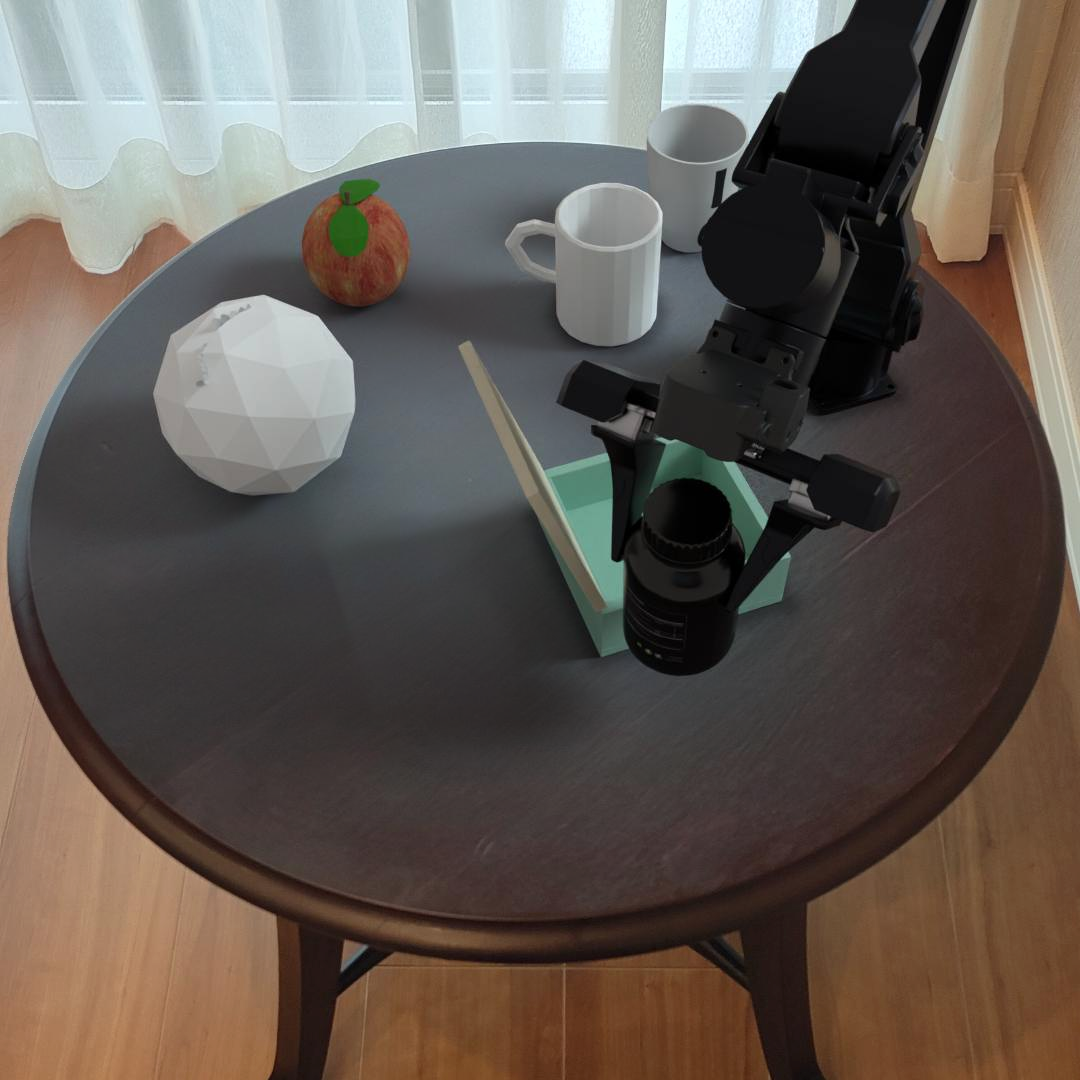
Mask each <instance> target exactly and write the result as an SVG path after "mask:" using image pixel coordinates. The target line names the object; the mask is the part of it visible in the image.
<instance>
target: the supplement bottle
mask: <svg viewBox="0 0 1080 1080" xmlns="http://www.w3.org/2000/svg"><path fill="white" fill-rule="evenodd" d="M745 556H746V554H745V546H744V542H743V539H742V537H741V535H740V533H739V531H738V529H737V528H736V527H735V525H734V524H733V523H732V509H731V508H730V503H729V501H728V500H727V497H726V496H725V495H724V494H723V492H722V491H721V490H719V489H718V488H717V487H716V486H714V485H711V484H710V483H709V482H704V481H703V480H701V479H694V478H681V479H674V480H672V481H667V482H665V483H663V484H660V485H659V486H658V487H657V488H654V490H653V492H652V493H650V494H649V497H648V498H647V499H646V501H645V506H644V508H643V516H642V517H640V518H639V519H638V520H637V521H636V523H635V524H634V525H633V526H632V528H631V529H630V531H629V533H628V535H627V538H626V541H625V545H624V554H623V632H624V637H625V640H626V643H627V645H628V647H629V649H628V650H630V652H631V654H632V655H633V656H634V657H635V658H636V659H637V660H638V661H639V662H640V663H641V664H642V665H644V666H645V667H647V668H649V669H650V670H652V671H655V672H657V673H659V674H664V675H668V676H673V677H688V676H694V675H698V674H701V673H704V672H706V671H708V670H710V669H713V668H714V667H715V666H717V665H718V664H719V663H720V662H722V660H724V659H725V657H726V656H727V654H728V653H729V652H730V651H731V648H732V645H733V643H734V640H735V637H736V631H737V630H736V629H737V624H738V618H739V614H738V611H739V608H738V609H737V610H736V611H735V612H733V613H731V614H730V613H728V612H726V611H725V608H726V605H727V603H728V600H729V597H730V594H731V591H732V589H733V587H734V584H735V583H736V581H737V579H738V577H739V575H740V573H741V571H742V569H743V568H744V566H745Z"/></svg>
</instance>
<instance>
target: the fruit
mask: <svg viewBox="0 0 1080 1080" xmlns="http://www.w3.org/2000/svg"><path fill="white" fill-rule="evenodd" d="M380 187H381V183H380V182H378V181H377V180H374V179H371V178H359V179H352V180H346V181H344V182H343V183H342V184H340V185H339V189H338V192H339V193H336V194H334V195H331V196H329V197H327V198H325V199H324V200H323V201H321V202H320V203H319V204H318V205H317V206H316V207H315V209H314V210H313V211H312V213H311V214H310V215H309V217H308V219H307V220H306V222H305V225H304V227H303V232H302V238H301V254H302V262H303V264H304V267H305V270H306V272H307V275H308V277H309V279H310V280H311V281H312V283H313V284H314V286H315V287H316V288H317V289H318V290H319V291H320V292H321V293H322V294H323V295H325V296H326V297H328V298H330V299H331V300H333V301H334V302H336V303H338V304H342V305H345V306H350V307H368V306H372V305H376V304H377V303H380V302H381V301H383V300H385V299H388V298H389V297H390V296H391V295H392V294H393V293H394V292H395V291H396V290H397V288H398V287H400V285H401V284H402V282H403V281H404V279H405V277H406V274H407V272H408V270H409V264H410V259H411V246H410V238H409V235H408V232H407V229H406V226H405V224H404V222H403V220H402V219H401V217H400V216H399V214H398V213H397V211H396V210H395V209H394V208H393V207H392V206H391V205H390V204H389V203H388V202H387V201H385V200H383V199H382V198H380V197H379V196H377V195H375V194H374V193H376V192H377V191H378V190H379V188H380Z"/></svg>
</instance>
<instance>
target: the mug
mask: <svg viewBox="0 0 1080 1080" xmlns="http://www.w3.org/2000/svg"><path fill="white" fill-rule="evenodd" d="M662 215H663V213H662V211H661V209H660V206H659V204H658V202H656V201H655V200H654V199H653V198H652V197H651V196H650V193H648V192H646V191H644V190H641V189H640V188H637V187H635V186H632V185H628V184H624V183H619V182H599V183H594V184H588V185H585V186H582V187H581V188H578V189H576V190H573V191H572V192H571V193H569V194H568V195H566V196H565V197H564V198H563V199H561V201H560V203H559V204H558V206H557V207H556V209H555V215H554V216H555V217H554V223H552V222H548V221H544V220H539V219H536V218H534V219H530V220H526V221H523V222H519V223H517V224H516V225H515V226H514V228H513V229H512V231H511V232H510V234H509V235H508V237H507V238H506V239H505V241H504V242H505V243H504V246H505V248H506V249H507V251H508V252H509V254H510V255H511V257H512V259H513V260H514V262H515V263H516V266H517V267H518V268H519V269H520V271H521V272H523V273H524V274H527V275H529V276H532V277H533V278H536V279H538V280H540V281H543V282H547V283H553V284H555V302H556V303H555V305H556V307H555V308H556V316H557V319H558V322H559V325H560V326H561V327H562V328H563V330H564V331H565V332H566V333H567V334H568V335H569V336H571V337H572V338H574V339H576V340H578V341H579V342H581V343H584V344H588V345H591V346H595V347H596V346H597V347H616V346H622V345H627V344H630V343H632V342H634V341H636V340H638V339H641V338H642V337H643V336H644V335H645V334H646V333H647V332H649V331H650V330H651V329H652V326H653V325H654V323H655V321H656V319H657V314H658V313H657V312H658V296H659V281H660V267H661V266H660V265H661V264H660V262H661V249H662V239H661V235H662ZM540 234H542V235H546V236H550V237H554V243H555V244H554V245H555V248H554V249H555V270H554V269H550V268H546V267H544V266H541V265H540V264H538V263H535V262H533V261H531V259H530V257H529V256H528V255H527V253H526V252H525V250H524V248H523V247H522V245H521V244H522V243H523V241H524V239H526V237H531V236H535V235H540Z"/></svg>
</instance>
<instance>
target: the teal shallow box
mask: <svg viewBox="0 0 1080 1080" xmlns="http://www.w3.org/2000/svg"><path fill="white" fill-rule="evenodd" d="M655 439H656V440H658V441H661V442H663V443H665V444H666V447H665V450H664V452H663V455H662V458H661V461H660V464H659V467H658V470H657V473H656V476H655V478H654V481H653V484H652V487H651V490H650V493H652V492H653V490H654V488H657V487H658V486H659V485H660V484H663V483H665V482H667V481H672V480H674V479H681V478H694V479H701V480H703V481H704V482H709V483H710V484H711V485H714V486H716V487H717V488H718V489H719V490H721V491H722V492H723V494H724V495H725V496H726V497H727V500H728V501H729V503H730V508H731V509H732V523H733V524H734V525H735V527H736V528H737V529H738V531H739V533H740V535H741V537H742V539H743V542H744V546H745V554H746V556H745V564H746V562H747V560H748V558H749V556H750V554H751V553H752V551H753V549H754V547H755V545H756V543H757V541H758V539H759V538H760V536H761V534H762V532H763V530H764V528H765V526H766V523H767V520H768V518H769V516H768V515H767V514H766V511H765V510H764V508H763V507H762V505H761V503H760V502H759V500H758V498H757V496H756V495H755V493H754V492H753V490H752V488H751V487H750V485H749V483H748V481H747V480H746V478H745V476H744V475H743V472H741V470H740V468H739V466H738V464H737V463H735V462H724V461H719V460H716V459H713V458H711V457H709V456H707V455H706V453H705V452H704V451H703V450H701V449H699V448H696V447H694V446H691V445H689V444H686V443H684V442H681V441H679V440H676V439H675V440H672V441H669V440H667V439H664V438H662V437H660V436H659V437H657V438H655ZM543 471H544V473H545V475H546V477H547V479H548V482H549V484H550V486H551V488H552V490H553V492H554V494H555V496H556V499H557V501H558V503H559V505H560V507H561V509H562V511H563V513H564V516H565V518H566V520H567V522H568V524H569V526H570V528H571V530H572V533H573V535H574V537H575V539H576V541H577V543H578V545H579V547H580V550H581V552H582V554H583V556H584V558H585V560H586V562H587V564H588V566H589V569H590V571H591V573H592V575H593V577H594V579H595V581H596V583H597V586H598V588H599V590H600V592H601V594H602V596H603V598H604V600H605V603H606V605H607V607H606V608H604V609H602V610H600V611H598V612H596V611H595V610H594V608H593V606H592V605H591V603H590V601H589V600H588V598H587V597H586V595H585V593H584V592H583V590H582V588H581V587H580V585H579V583H578V582H577V580H576V578H575V577H574V575H573V574H572V572H571V570H570V569H569V567H568V565H567V564H566V562H565V560H564V559H563V557H562V555H561V554H560V552H559V551H558V549H557V547H556V546H555V544H554V542H553V541H552V539H551V537H550V536H549V534H548V532H547V531H546V529H545V528H544V526H543V524H542V523H541V521H540V519H539V518H538V517H537V520H538V522H539V524H540V527H541V529H542V531H543V533H544V536H545V538H546V540H547V542H548V544H549V546H550V548H551V551H552V553H553V555H554V557H555V560H556V562H557V565H558V566H559V568H560V571H561V573H562V574H563V577H564V579H565V582H566V584H567V586H568V589H569V590H570V592H571V595H572V597H573V599H574V601H575V604H576V606H577V608H578V610H579V612H580V614H581V617H582V619H583V622H584V623H585V626H586V628H587V629H588V632H589V634H590V636H591V639H592V642H593V643H594V645H595V648H596V650H597V652H598V655H599V656H600V658H603V657H607V656H611V655H613V654H617V653H620V652H623V651H626V650H630V649H629V647H628V645H627V643H626V640H625V637H624V632H623V560H622V561H621V562H618V563H616V562H614V561H612V560H611V540H612V503H613V487H612V475H611V465H610V460H609V457H608V454H607V452H603V453H599V454H597V455H592V456H590V457H585V458H582V459H579V460H575V461H572V462H568V463H565V464H561V465H558V466H554V467H549V468H547V469H543ZM650 493H649V494H650ZM648 497H649V496H648ZM642 516H643V513H642ZM642 516H641V517H642ZM791 559H792V555H791V554H790V551H788V552H787V553H786V554H785V555H784V556H783V557H782V559H781V560H780V561H779V562H778V563H777V564H776V565H775V566H774V568H773V569H772V570H771V571H770V572H769V573H768V574H767V576H766V577H765V578H764V579H763V580H762V581H761V582H760V584H759V585H758V586H757V587H756V588H755V589H754V590H753V592H752V593H751V594H750V595H749V596H748V597H747V598H746V600H745V601H744V602H743V603H742V604H741V605H740V606H739V611H738V615H741V614H744V613H748V612H751V611H755V610H757V609H760V608H763V607H767V606H771V605H773V604H776V603H780V602H782V601H783V596H784V592H785V587H786V584H787V583H786V582H787V578H788V573H789V568H790V563H791Z"/></svg>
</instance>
